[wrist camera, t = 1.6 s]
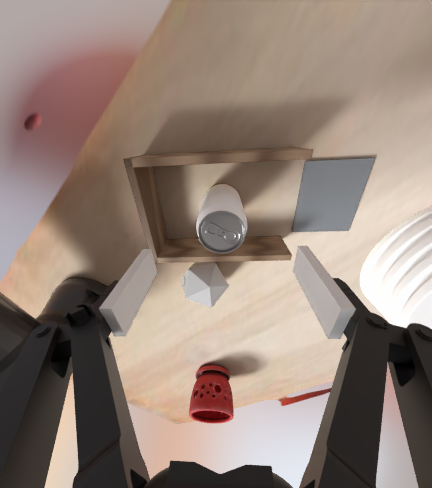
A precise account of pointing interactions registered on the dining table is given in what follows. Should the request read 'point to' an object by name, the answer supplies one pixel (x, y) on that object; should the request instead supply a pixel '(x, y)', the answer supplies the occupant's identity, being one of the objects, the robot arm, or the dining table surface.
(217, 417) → the plant pot
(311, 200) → the slate mat
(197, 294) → the die
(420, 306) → the plate stack
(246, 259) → the walnut u-shaped enclosure
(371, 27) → the dining table surface
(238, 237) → the can
